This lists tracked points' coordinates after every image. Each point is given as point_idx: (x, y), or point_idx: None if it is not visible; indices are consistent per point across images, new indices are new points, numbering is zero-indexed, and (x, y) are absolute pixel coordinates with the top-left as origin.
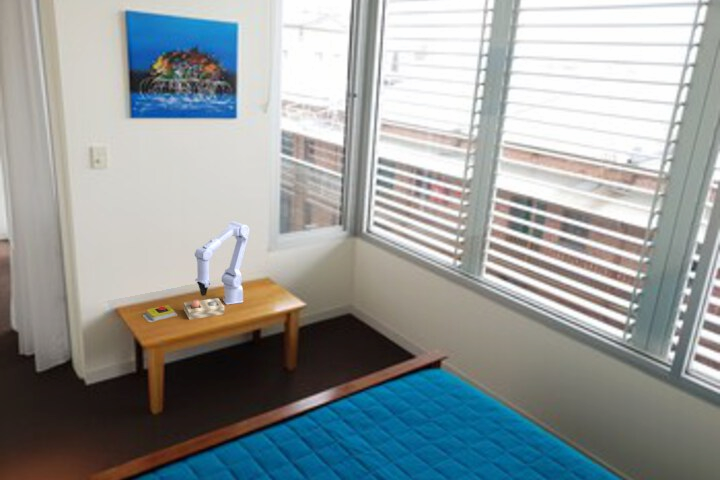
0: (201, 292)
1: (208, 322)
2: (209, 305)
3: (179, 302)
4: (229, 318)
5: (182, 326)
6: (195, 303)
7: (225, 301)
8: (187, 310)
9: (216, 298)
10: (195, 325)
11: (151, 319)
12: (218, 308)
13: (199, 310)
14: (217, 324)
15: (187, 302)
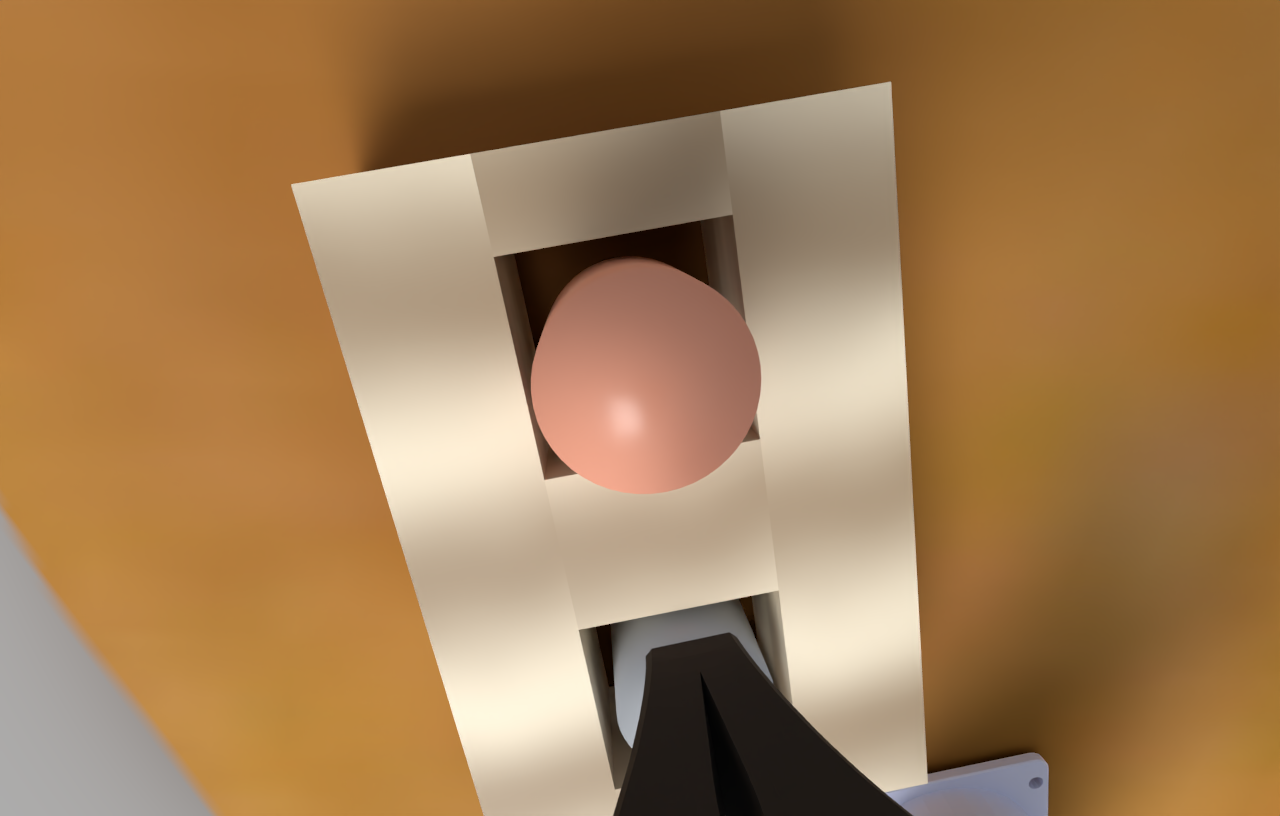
0: (635, 750)
1: (212, 521)
2: (651, 627)
3: (1187, 46)
4: (347, 812)
5: (27, 21)
6: (532, 381)
7: (922, 796)
8: (485, 154)
9: (915, 759)
10: (82, 292)
11: None
12: (473, 773)
13: (385, 432)
14: (128, 650)
15: (890, 181)
